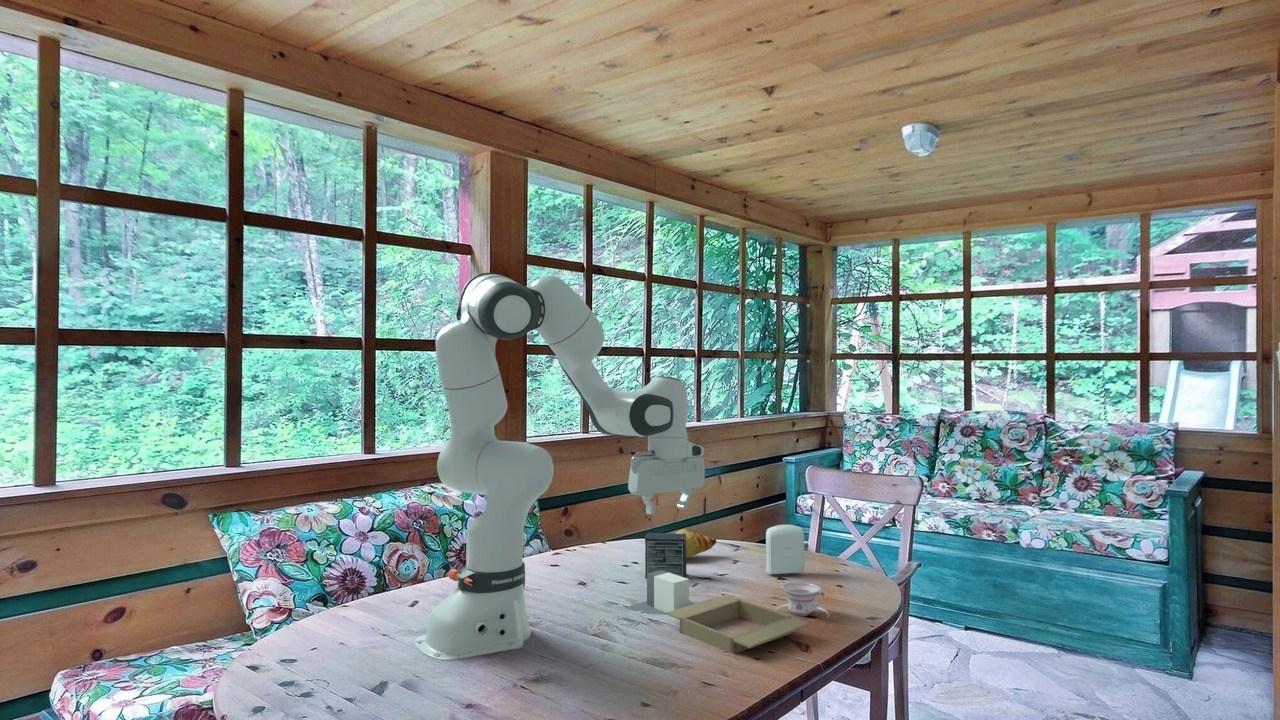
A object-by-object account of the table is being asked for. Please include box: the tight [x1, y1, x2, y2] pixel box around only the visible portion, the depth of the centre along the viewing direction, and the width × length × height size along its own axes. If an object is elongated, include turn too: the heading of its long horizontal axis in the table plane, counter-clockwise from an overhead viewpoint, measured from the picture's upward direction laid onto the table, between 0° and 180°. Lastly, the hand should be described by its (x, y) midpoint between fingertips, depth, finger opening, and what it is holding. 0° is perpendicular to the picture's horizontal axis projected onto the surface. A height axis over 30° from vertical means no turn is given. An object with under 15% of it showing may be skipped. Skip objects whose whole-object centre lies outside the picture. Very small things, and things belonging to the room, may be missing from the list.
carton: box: [665, 594, 810, 655], centre depth 145 cm, size 18×23×4 cm
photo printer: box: [765, 524, 805, 575], centre depth 190 cm, size 10×4×12 cm, turn 99°
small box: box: [644, 532, 687, 580], centre depth 187 cm, size 11×6×10 cm, turn 84°
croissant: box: [673, 528, 717, 558], centre depth 206 cm, size 21×10×8 cm
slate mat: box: [625, 599, 697, 616], centre depth 161 cm, size 14×13×1 cm
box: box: [646, 570, 690, 613], centre depth 161 cm, size 4×9×7 cm, turn 40°
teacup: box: [773, 581, 830, 619], centre depth 158 cm, size 12×12×6 cm
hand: (667, 511), depth 161 cm, fingers open, 8 cm apart
